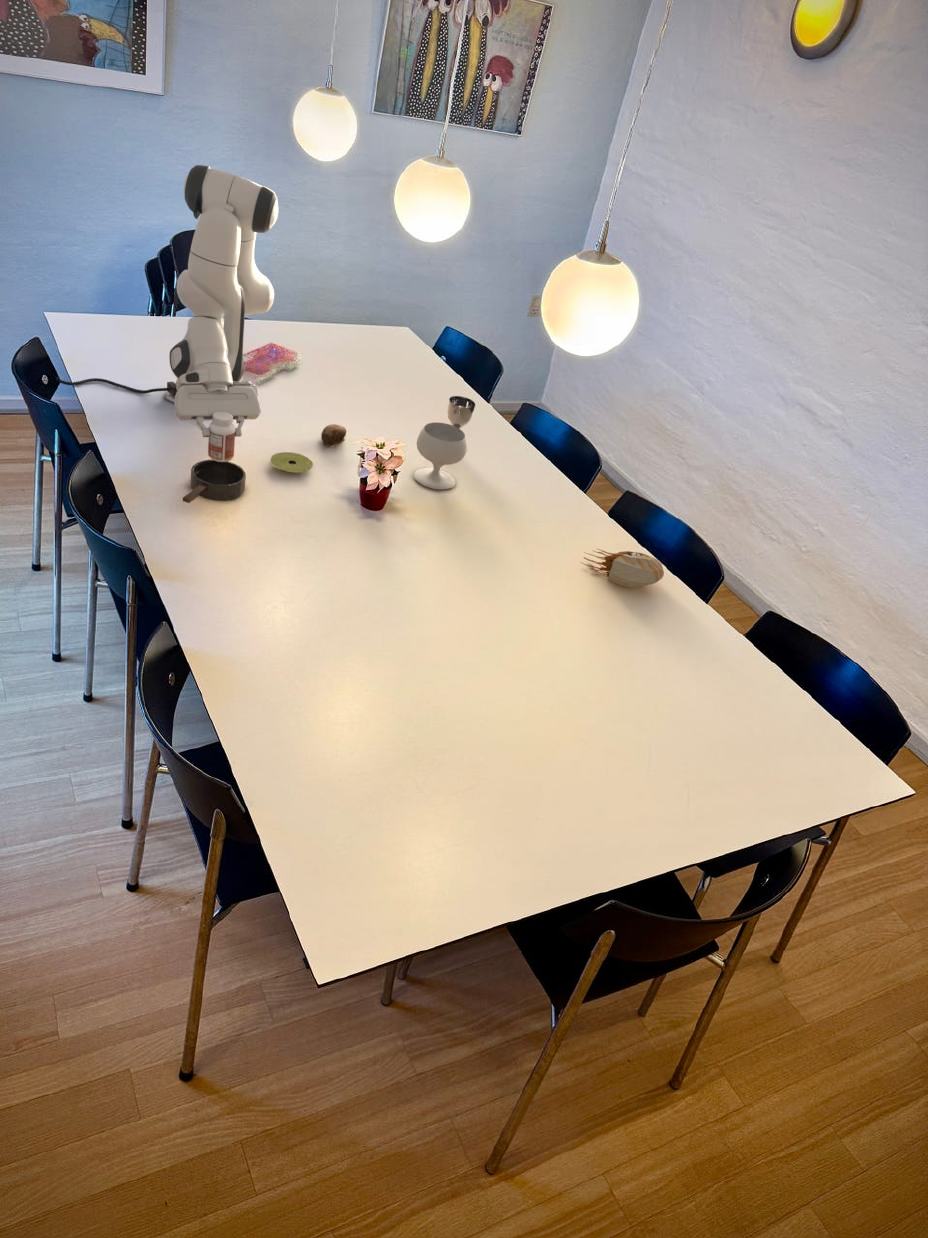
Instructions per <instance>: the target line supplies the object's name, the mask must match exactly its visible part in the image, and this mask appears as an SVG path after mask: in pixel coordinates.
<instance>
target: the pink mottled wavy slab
mask: <svg viewBox="0 0 928 1238" xmlns="http://www.w3.org/2000/svg"><path fill="white" fill-rule="evenodd" d="M244 357H245V358H247V359H248V360H245V361H244V373H247V374H250V375H252V376H254V377H255V378H254V379H256V381H257V384H258V385H259V384H262V383H264V382H265V380H267V381H268V380H271V379H272V377H273V375H275V374H277V373H279V372H280V371H281V370H285V371H288V372H289V371H291V370H294V369H295V367H296V366H297V365H299V364H300V363H302V361H301V360H300V359H302V358H303V353H301V352H298V351H295V350H292V349H290V348H288V347H284V346H282V345H279V344H276V343H274V342H269V343H267V344H265V345H263V346H259V347H257V348H255V349H252V350H250V351H248V352H246V353H243V358H244Z"/></svg>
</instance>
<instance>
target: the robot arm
mask: <svg viewBox="0 0 928 1238" xmlns="http://www.w3.org/2000/svg"><path fill="white" fill-rule="evenodd" d="M183 192H184V201H185V204H186V205H187V208H188V209H189V210H190V212H192V214H193V217H194V219H196V220H198V221H197V224H196V227H195V230H194V232H193V237H192V241H191V245H190V251H189V255H188V262H187V269H184V270H183V271H182V272H181V273H180V274H179V276H178V278H177V281H176V294H177V297H178V299H179V301H180V302H181V304H182V305H183V306H184V307H185V308H186V309H188V311H190V312H191V313H192V314H193V316H192V317H191V318H189V319H188V322H187V328H186V329H187V330H186V332H185V335H184V336H183V338H182V340H181V341H179V342H177V343H176V344H175V345H174V346H173V347H171V348H170V351H169V367H170V369H171V372H172V374H173V375H174V376H175V377H176V378H177V379H175V382H174V381H167V382H166V387H159V388H158V387H157V388H150V389H145V390H143V389H137V388H133V387H130V386H128V385H125V384H121V383H117V382H114V381H112V380H109V379H105V378H97V377H94V378H87V379H82V380H79V381H66V380H63V379H60V378H58V377H56V378H57V379H56V380H57V381H56V380H55V381H56V382H57V383H59V384H62V385H66V386H79V385H83V384H87V383H91V382H101V383H106V384H109V385H112V386H115V387H116V388H117V387H118V388H120V389H124V390H127V391H130V392H134V393H137V394H149V393H150V394H151V393H156V392H166V394H165V399H166V400H167V401H169V402H172V403H174V404H173V405H174V415H175V417H176V418H177V419H178V420H179V421H195V424H196V426H197V427H198V428H199V429H200V431H201V433H202V438H209V437H210V428H209V427H206V425H205V424H204V421H205V420H206V421H207V420H210V421H211V420H212V421H213V414H214V413H215V412H227V413H230V414H231V415H232V416H233V420H236V422H235V423H236V424H238V425H237V426H236V427H235V438H236V437H239V438H241V437H242V434H243V433H242V427H243V425H244V423H245V420H256V419H258V418H259V417H260V415H261V413H262V408H261V404H260V400H259V397H258V396H259V390H258V387H257V385H255V384H254V383H252V382H251V381H247V380H245V381H243V380H244V373H245V372H244V371H245V370H244V362H245V360H244V359H245V358H244V356H243V354H244V344H245V342H244V341H245V339H244V336H245V319H246V317H245V316H246V315H247V316H248V315H249V316H251V315H259V314H260V315H261V314H266V313H267V312H269V311H270V309H271V308H272V306H273V303H274V300H275V291H274V287H273V285H272V283H271V281H270V280H269V278H268V277H267V276H265V275H264V274H262V272H261V271H260V270H259V268H258V266H257V264H256V261H255V247H256V239H257V233H258V234H265V233H268V232H269V231H271V229H272V227H273V226H274V225H275V223H276V221H277V220H278V216H279V202H278V201H279V199H278V197H277V195H276V192H274V191H273V190H272V189H270V188H269V187H267V186H265V185H260V184H258V183H256V182H254V181H252V180H250V179H248V178H246V177H243V176H241V175H238V174H233V173H230V172H227V171H223V170H219V169H216V168H215V169H214V168H212V167H211V166H208V165H202V164H201V165H200V164H196V165H194V166H192V167H191V169H190V170H189V172H188V174H187V175H186V177H185V180H184V183H183ZM58 379H59V381H58ZM72 382H73V383H72Z"/></svg>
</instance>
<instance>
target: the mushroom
mask: <svg viewBox="0 0 928 1238" xmlns="http://www.w3.org/2000/svg"><path fill="white" fill-rule="evenodd" d="M346 435H347V429H346V427H345V426H344V425H341V424H336V423H331V424H328V425H326V426H325V427H324V428H323V429H322V430H321V439H320V440H321V441H322V443H323V444H324V445H325V446H327V447H334V446H337V445H340V444H342V443H344V442H345V441H346Z"/></svg>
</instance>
